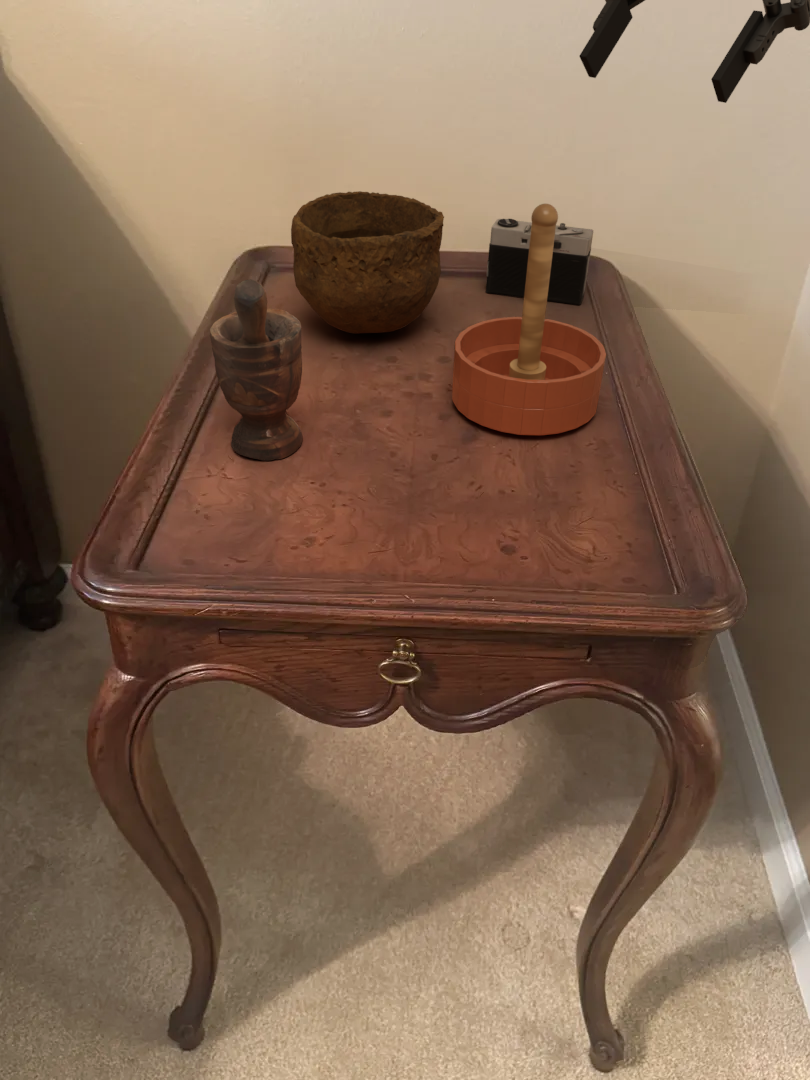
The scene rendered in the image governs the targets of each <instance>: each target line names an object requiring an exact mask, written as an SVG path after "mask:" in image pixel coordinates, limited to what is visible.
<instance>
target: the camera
mask: <svg viewBox="0 0 810 1080" xmlns="http://www.w3.org/2000/svg"><path fill="white" fill-rule="evenodd" d="M531 226H532V221H524V220H517V219H513V218H496V220H495V221H494V223H493V225H492V226H491V227H490V228H491V229H490V241H489V245H488V255H487V257H488V258H487V265H486V274H485V275H486V283H485V293H486V294H492V295H499V296H506V297H514V298H521V299H524V294H525V284H526V274H527V265H528V255H529V246H530V236H531ZM593 237H594V230H593V229H591V228H585V227H575V226H567V225H566V223H564V222H561V223H559V225H558V224H556V230H555V238H554V247H553V255H552V263H551V272H550V280H549V288H548V296H547V302H550V303H551V302H553V303H558V304H559V303H560V304H567V305H574V306H581V305H582V303H583V300H584V297H585V293H586V287H587V286H586V285H587V279H588V273H589V267H590V261H591V260H590V259H591V251H592V244H593Z"/></svg>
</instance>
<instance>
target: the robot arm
mask: <svg viewBox="0 0 810 1080" xmlns="http://www.w3.org/2000/svg"><path fill="white" fill-rule="evenodd" d="M645 1H646V0H604V2H605V3H604V5H603V7H602V8H601V10H600V12H599V14H598V15H597V17H596V18H595V20H594V22H593V24H592V30H593V33H592V34H591V36H590V38H589V39H588V41H587V42H586V44H585V46H584V47H583V49H582V51H581V52H580V54H579V58H580V61H581V63H582V65H583V67H584V69H585V71H586V73H587V76H588V78H594V79H596V78H597V77H598V75H599V73H600V72H601V71H602V68H603V67H604V65H605V64H606V62H607V60H608V58H609V57H610V55H611V53H612V52H613V51H614V49H615V47H616V45H617V44H618V42H619V40H620V39H621V37H622V35H623V34H624V32H625V31H626V29H627V27H628V26H629V24H630V23H631V21H632V20H633V18H634V17H633V13H632V11H631V10H632V9H634V8H635V7H637V6H639V5H640V4H642V3H643V2H645ZM762 5H763V8H764V12H765V13H763V11H762V10H754V9H753V10H752V13H751V14H750V16H749V17H748V19H747V20H746V22H745V24H744V25H743V27H742V29H741V30H740V31H739V33H738V35H737V37H736V38H735V40H734V41H733V43H732V45H731V46H730V48H729V50H728V51H727V53H726V54H725V56H724V58H723V59H722V61H721V62H720V64H719V66H718V68H717V69H716V71H715V72H714V74H713V76H712V77H711V83H712V86H713V89H714V93H715V96H716V100H717V102H720V103H723V104H727V102H728V101H729V99H730V97H731V96H732V94H733V92H734V91H735V90H736V88H737V86H738V85H739V82H740V81H741V80H742V78H743V76H744V74H745V73H746V71H747V70H748V68H749V66H750V65H758V64H759V63H760V62H761V61H762V60H763V59H764V57H765V56H766V54H767V52H768V51H769V49H770V48H771V46H772V44H773V43H774V41H775V39H777V36H778V35H780V34H781V33H783V31H784V30H787V29H791V28H794V30H796V31H799V32H800V31H803V30H806V29H807V28H809V26H810V0H790V2H789V1H788V2H783V3H782V1H781V0H762Z"/></svg>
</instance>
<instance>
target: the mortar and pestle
mask: <svg viewBox="0 0 810 1080" xmlns="http://www.w3.org/2000/svg"><path fill="white" fill-rule="evenodd" d="M233 303H234V308H235V311H234V312H231V313H229V314H227V315H224V316H222V317H220V318H218V319H217V320H216V321H215V322H213V324H212V326H211V327H210V328H209V339H210V343H211V350H212V356H213V359H214V370H215V374H216V377H217V382H218V383H219V388H220V390H221V391H222V394H223V396H224V399H225V401H226V403H227V404H228V405H229V406H230V407H231V408H232V409H234V411H237V412H238V413H239V414H240V415H241V418H240V419H239V421H238V422H237V423H236V425H235V426H234V428H233V432H232V434H231V439H230V440H231V441H230V446H231V448H232V450H233V451H234V452H235V453H236V454H238V455H240V456H242V457H245V458H248V459H249V458H250V459H254V460H260V461H263V462H264V461H265V462H266V461H274V460H281V459H285V458H287V457H289V456H291V455H293V454H294V453H295V452H296V451H298V449H299V448H300V447H302V444H303V433H302V430H301V428H300V426H299V425H298V423H297V422H296V421H295V419H293V417H291V416H290V415H288V414H287V410H289V409H290V408H291V407H292V406H293V405H294V404H295V403H296V401H297V399H298V396H299V391H300V388H301V383H302V375H303V353H302V347H303V346H302V324H301V321H300V320H299V319H298V318H297V317H296V316H294V314H291V313H289V312H288V311H286V310H284V309H277V308H276V309H275V308H274V309H273V308H268V296H267V291H266V289H265V287H264V286H263V284H261V283H260V281H257V280H255V279H251V278H249V279H245V280H241V281H240V282H238V283H237V285H236V286H235V290H234V295H233Z"/></svg>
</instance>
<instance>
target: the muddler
mask: <svg viewBox="0 0 810 1080" xmlns="http://www.w3.org/2000/svg"><path fill="white" fill-rule="evenodd" d="M530 219H531V222H532V226H531V236H530V246H529V255H528V265H527V274H526V284H525V294H524V298H523V305H522V313H521V314H522V315H521V317H522V322H521V332H520V342H519V351H518V359H515V360H513V361H511V363H510V367H509V377H513V378H520V379H527V380H545V374H546V365H545V364H544V363H543V362H542V361H540V354H541V346H542V338H543V330H544V321H545V319H546V312H547V304H548V301H547V296H548V288H549V280H550V272H551V263H552V255H553V247H554V238H555V230H556V225H557V223H558V220H559V214H558V211H557V209H556V207H554V206H553V204H551V203H541V204H539V205H537V206H536V207H535V208H534V209H533V210H532V213H531V217H530Z"/></svg>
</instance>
